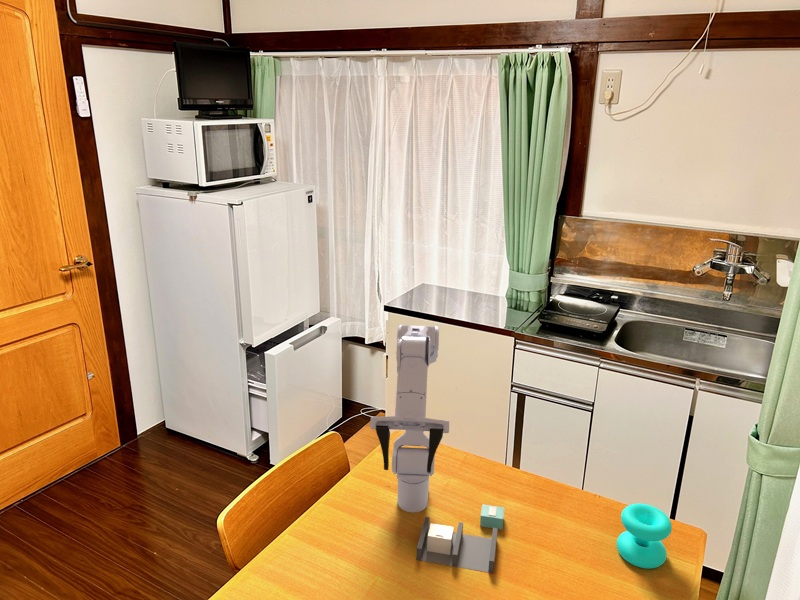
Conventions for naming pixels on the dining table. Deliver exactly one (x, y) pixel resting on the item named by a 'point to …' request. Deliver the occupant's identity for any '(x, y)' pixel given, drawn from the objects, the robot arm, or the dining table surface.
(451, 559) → the gray shelf unit
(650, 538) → the turquoise spool
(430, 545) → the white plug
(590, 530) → the dining table surface
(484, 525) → the teal box
